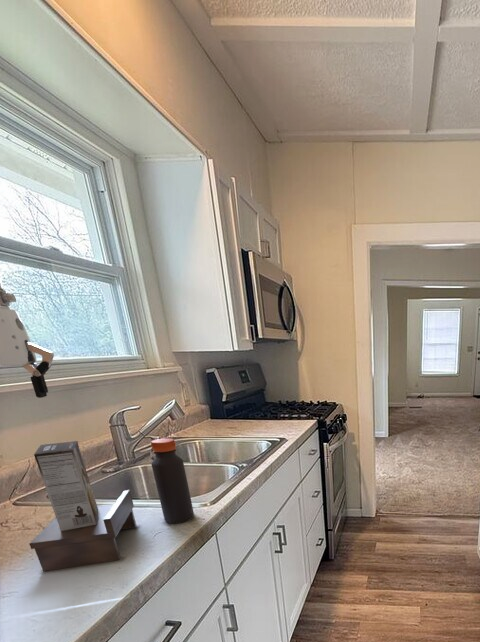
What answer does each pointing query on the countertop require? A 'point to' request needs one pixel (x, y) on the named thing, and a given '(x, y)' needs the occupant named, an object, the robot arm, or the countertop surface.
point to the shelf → (85, 538)
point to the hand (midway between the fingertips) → (12, 397)
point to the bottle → (171, 482)
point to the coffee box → (67, 485)
